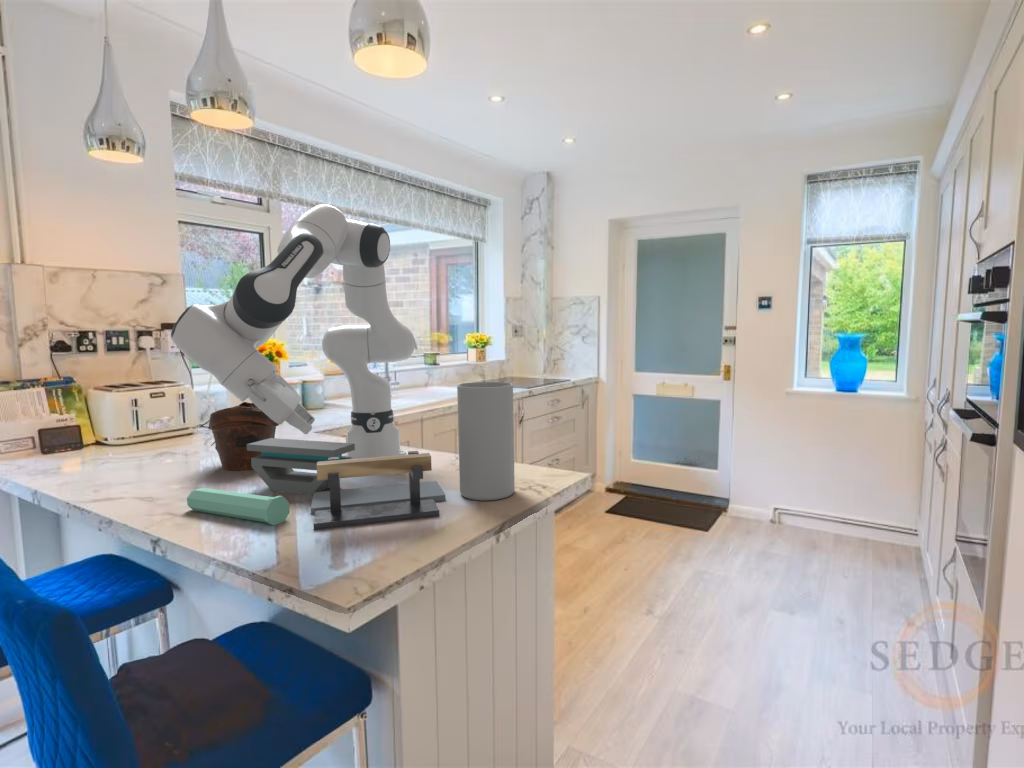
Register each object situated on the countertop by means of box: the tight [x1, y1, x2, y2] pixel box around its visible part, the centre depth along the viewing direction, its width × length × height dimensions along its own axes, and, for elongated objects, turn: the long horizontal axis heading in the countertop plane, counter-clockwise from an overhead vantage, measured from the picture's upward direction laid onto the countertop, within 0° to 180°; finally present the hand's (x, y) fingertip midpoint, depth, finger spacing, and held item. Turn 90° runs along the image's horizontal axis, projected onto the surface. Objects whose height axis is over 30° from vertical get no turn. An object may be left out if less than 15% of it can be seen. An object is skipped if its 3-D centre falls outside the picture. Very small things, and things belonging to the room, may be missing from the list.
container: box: [186, 487, 291, 526], centre depth 116 cm, size 6×6×25 cm
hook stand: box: [313, 450, 440, 531], centre depth 114 cm, size 8×24×12 cm, turn 107°
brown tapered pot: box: [208, 401, 280, 471], centre depth 160 cm, size 18×20×18 cm
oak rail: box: [316, 452, 432, 481], centre depth 113 cm, size 3×22×3 cm, turn 107°
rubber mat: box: [310, 480, 446, 515], centre depth 126 cm, size 12×28×1 cm, turn 107°
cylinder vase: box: [456, 381, 516, 502], centre depth 128 cm, size 12×12×25 cm
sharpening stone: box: [247, 438, 355, 496], centre depth 135 cm, size 25×8×11 cm, turn 70°
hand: (311, 426), depth 109 cm, fingers open, 8 cm apart
